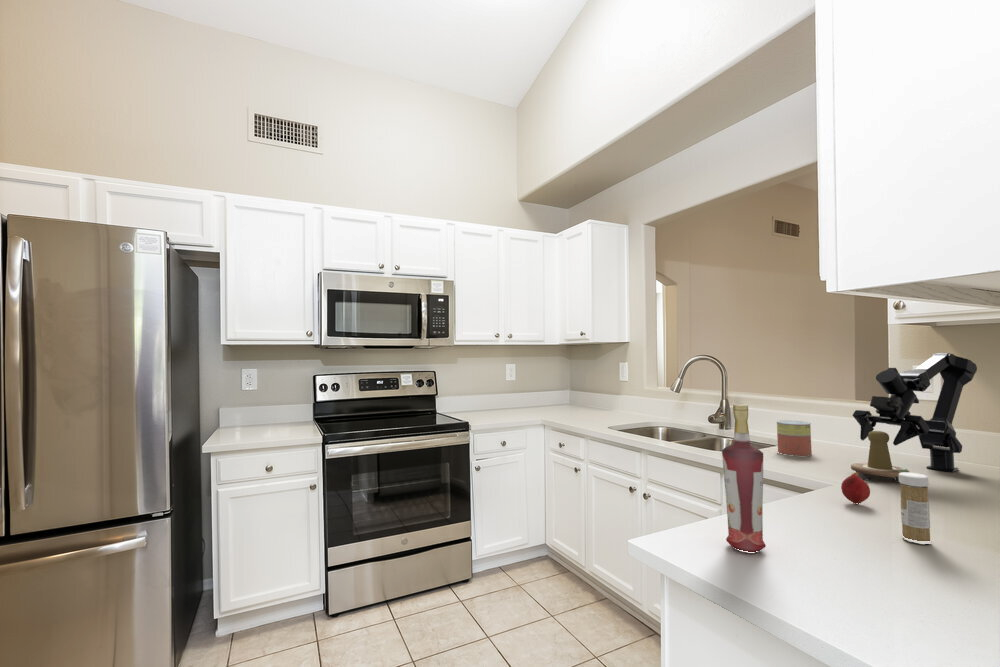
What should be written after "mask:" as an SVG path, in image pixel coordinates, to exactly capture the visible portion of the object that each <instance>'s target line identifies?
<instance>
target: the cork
mask: <svg viewBox="0 0 1000 667" xmlns="http://www.w3.org/2000/svg"><path fill="white" fill-rule="evenodd" d="M867 438H868V440H869V451H868V458H867V463H868V467H870V468H875V469H883V470H891V469H893V468H892V466H893V464H892V460H891V455H890V450H889V445H888V443H889V441H890V435H889V434H888V433H887V432H886V431H881V430H873V431H871V432H869V433H868V437H867Z"/></svg>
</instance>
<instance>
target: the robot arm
mask: <svg viewBox="0 0 1000 667" xmlns="http://www.w3.org/2000/svg"><path fill="white" fill-rule="evenodd" d="M977 371H978V367H977V364H976V363H975V362H973V361H972V360H971V359H969V358H964V357H961V356H958V355H955V354H954V353H950V352H937V353H933V354H932V355H931V357H929V358H928V359H927V360H925V361H924V362H923V363H921V364H920V365H918V366H917V367H916V368H914V369H910V370H909V369H908V370H905V371H902V372H899V371H898V369H897V367H888V368H887V369H885V370H883V371H880V372H879V373H877V374H876V375H875V380H876V382H877V383H878V384H879V385H880V386H881V387H880V388H882V390H883V391H884V392H885V393H886V394H889V395H890V396H889V397H887V396H878V395H872V396H871V400H870V403H869V406H870V407H872V408H873V409H876V410H875V413H876V414H878V415H873V414H872V413H871V411H870V410H862V409H861V410H860V409H856V410H854V411H853V413H852V417H853V418H854V419H855V420H856V422H857V423H858V425H859V427H860V436H859V438H860V440H861V441H865V440H866V439H867V438H868V433H869V432H871V431H875V428H874V427H876V425H877V424H885V425H886V424H887V425H890V426H897V427H898V426H900V429H899V430H898V432H897V434H896V436H895V437H894V439H893V442H892V444H893V445H894V446H899V445H900V444H902V443H904V442H906V441H908V440H910V439H913V438H916V437H918V439H919V442H920V446H921V449H922V450H923V449H925V450H926V449H927V450H929V457H930V460H929V461H930V465H927V466H926V469H929V470H936V471H937V470H938V471H942V472H943V471H944V472H950V473H954V472H956V471H959V470H958V469H959V467H956V466H955V457H954V456H955V453H956V454H961V453H962V450H963V444H962V443H961V442H960V440H959V439H958V438H957V432H956V430H955V427H954V426H953V421H954V418H955V414H956V411H957V409H958V408H957V407H958V404H959V402H960V398H961V394H962V391H963V388H964V386H965V385H967V384H968V383H970V382H971V381H972V380H973V378H974V376H975V374H976V373H977ZM938 374H939V375H940V376H941V378H942V380H943V382H942V386H941V388H940V392H939V395H938V398H937V401H936V404H935V408H934V410H933V414H932V418H930V419H924V418H923V416H921V415H916V414H912V413H911V412H910V409H911V408H912V406H913V404H917V405H918V404H919V403H920V400H919V398H918V396H917V394H916V393H915V392H921V393H923V392H924V391H926V390H927V389H928V388H929V387H930V386H931V379H933V378H934V377H935V376H937V375H938Z"/></svg>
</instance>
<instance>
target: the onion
mask: <svg viewBox="0 0 1000 667" xmlns="http://www.w3.org/2000/svg"><path fill="white" fill-rule="evenodd" d="M858 475H859V474H858V473H856V471H854V472H852V474H851V475H849V476H847V477H846V478H845V479H844V480H843V481H842V482H841V488H840V489H841V493H842V494H843V496H844V497H845V498H846V499H847V500H848V501H849V502H851V503H852V502H853V504H854V503H858V505H860V504H862V503H863V502H865V501H866V500H867V499H869V497H870V495H871V489H870V486H869V484H868V483H867V482H866V481H865V480H863V479H861V478H860V477H858ZM859 503H860V504H859Z"/></svg>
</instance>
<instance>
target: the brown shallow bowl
mask: <svg viewBox="0 0 1000 667" xmlns="http://www.w3.org/2000/svg"><path fill="white" fill-rule="evenodd" d="M892 468H893V469H891V470H883V469H875V468H870V467H868V462H858V463H852V464H850V469H851V470H852V471H854V472H856V473H858V474H859V475H858V477H860V478H861V479H869V480H870V475H871V476H875V477H876V476H878V477H884V478H885V477H886V478H895V479H894V481H895V482H896V483H899V473H902V472H910V470H908V468H906V467H905V468H904V467H899V466H896V465H892Z"/></svg>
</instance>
